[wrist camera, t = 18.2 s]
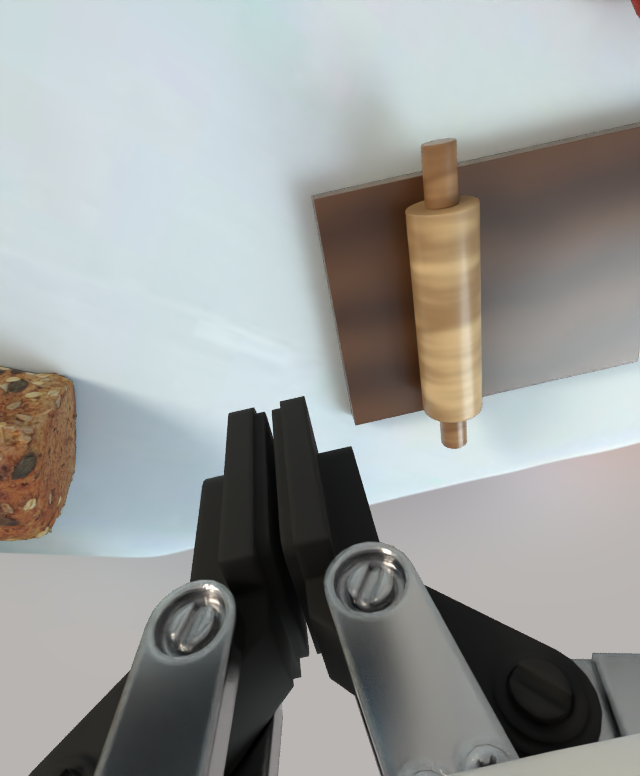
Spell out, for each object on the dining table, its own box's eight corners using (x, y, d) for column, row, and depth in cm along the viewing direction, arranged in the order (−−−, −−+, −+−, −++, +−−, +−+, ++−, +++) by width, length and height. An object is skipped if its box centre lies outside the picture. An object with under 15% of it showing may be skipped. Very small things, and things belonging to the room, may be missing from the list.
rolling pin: (391, 147, 30) (411, 153, 26) (461, 131, 30) (492, 135, 26) (419, 431, 41) (436, 464, 37) (470, 419, 41) (492, 451, 37)
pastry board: (311, 195, 32) (313, 199, 31) (665, 116, 32) (682, 117, 31) (352, 415, 41) (355, 425, 40) (625, 353, 41) (637, 361, 40)
